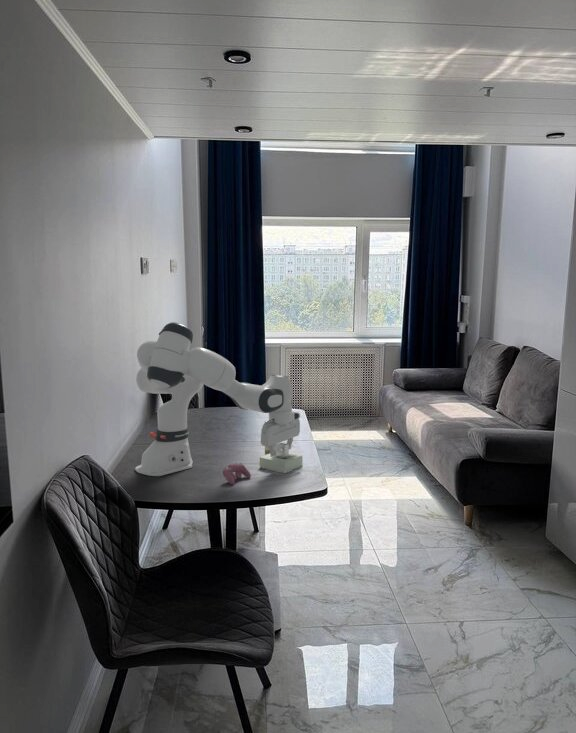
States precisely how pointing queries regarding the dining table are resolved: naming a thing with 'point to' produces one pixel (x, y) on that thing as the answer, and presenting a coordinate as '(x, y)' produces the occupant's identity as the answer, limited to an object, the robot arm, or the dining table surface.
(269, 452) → the round beech peg
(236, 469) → the video game controller
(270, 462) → the slot block
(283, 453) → the grey rectangular block
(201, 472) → the dining table surface
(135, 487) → the dining table surface
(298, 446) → the dining table surface
